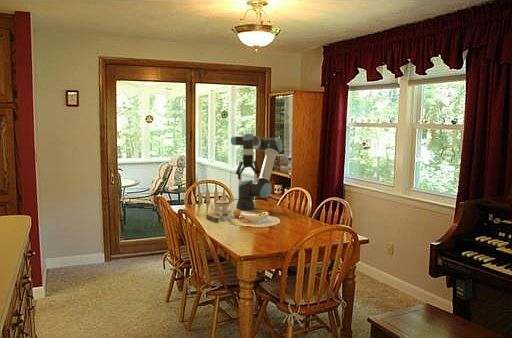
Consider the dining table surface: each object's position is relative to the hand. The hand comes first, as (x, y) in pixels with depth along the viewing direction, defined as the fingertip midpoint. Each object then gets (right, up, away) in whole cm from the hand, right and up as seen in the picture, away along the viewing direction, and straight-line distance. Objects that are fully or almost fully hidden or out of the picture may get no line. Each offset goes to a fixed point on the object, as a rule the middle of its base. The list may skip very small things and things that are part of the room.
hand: (247, 183), depth 336 cm
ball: (-8, -22, -3) cm, 23 cm away
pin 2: (-13, -26, -15) cm, 33 cm away
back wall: (-25, -26, -15) cm, 39 cm away
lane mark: (-13, -25, -6) cm, 29 cm away
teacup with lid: (-21, -24, +8) cm, 33 cm away
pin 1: (-19, -26, -11) cm, 34 cm away
